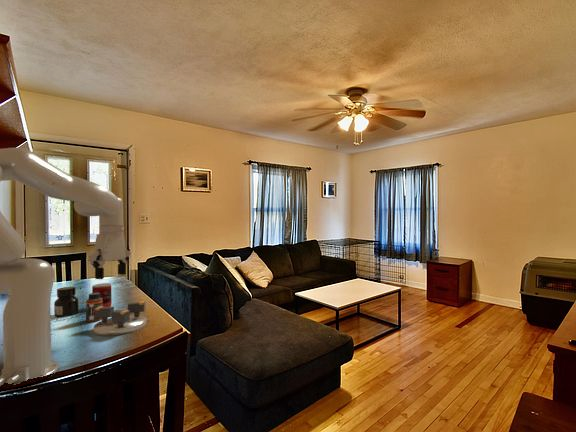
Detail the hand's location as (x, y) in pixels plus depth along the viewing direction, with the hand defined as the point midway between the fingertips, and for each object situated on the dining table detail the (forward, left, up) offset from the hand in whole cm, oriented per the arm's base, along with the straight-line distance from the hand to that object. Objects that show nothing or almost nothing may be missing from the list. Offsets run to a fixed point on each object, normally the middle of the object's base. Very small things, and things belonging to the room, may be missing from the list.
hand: (111, 276), depth 108 cm
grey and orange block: (+12, -5, -19) cm, 23 cm away
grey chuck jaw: (+1, -3, -19) cm, 19 cm away
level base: (+7, 0, -21) cm, 22 cm away
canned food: (+40, +21, -21) cm, 50 cm away
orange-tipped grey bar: (+8, +6, -19) cm, 21 cm away
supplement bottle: (+19, +15, -21) cm, 32 cm away
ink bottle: (+31, +32, -21) cm, 49 cm away
